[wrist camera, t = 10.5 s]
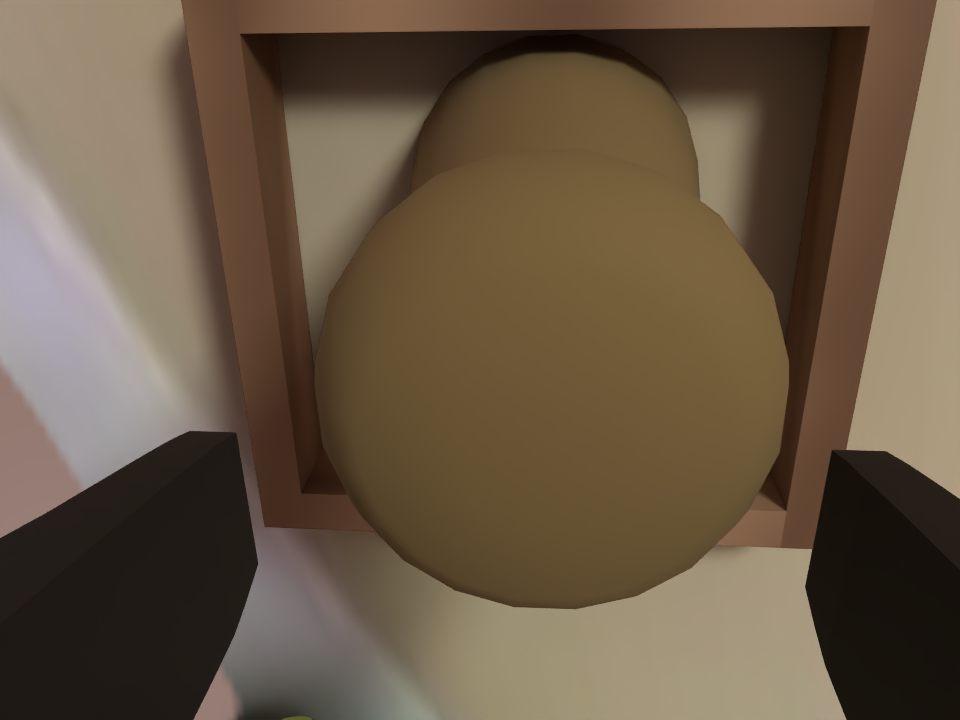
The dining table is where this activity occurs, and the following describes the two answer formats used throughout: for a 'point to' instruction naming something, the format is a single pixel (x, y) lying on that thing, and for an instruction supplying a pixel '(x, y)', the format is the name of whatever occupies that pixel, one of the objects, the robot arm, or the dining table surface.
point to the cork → (552, 341)
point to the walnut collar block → (557, 6)
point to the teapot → (298, 718)
